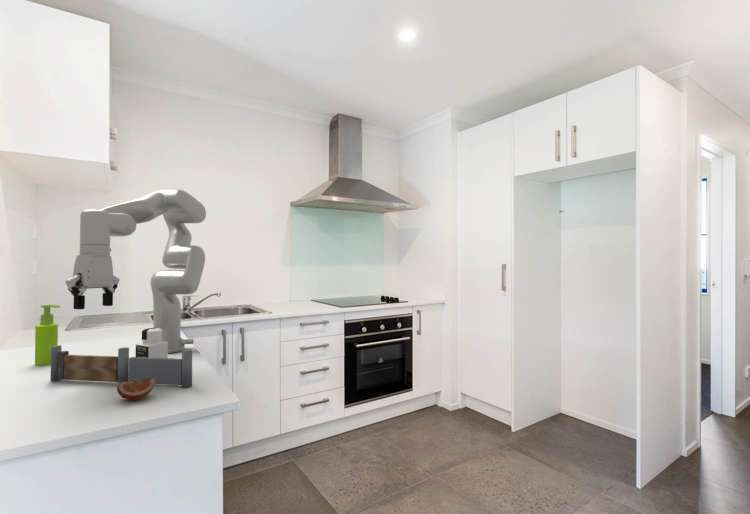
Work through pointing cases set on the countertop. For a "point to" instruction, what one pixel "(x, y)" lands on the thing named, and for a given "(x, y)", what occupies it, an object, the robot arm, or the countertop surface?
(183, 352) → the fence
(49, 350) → the soap dispenser
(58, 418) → the countertop surface
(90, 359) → the gate
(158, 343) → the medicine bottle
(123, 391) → the fruit slice
